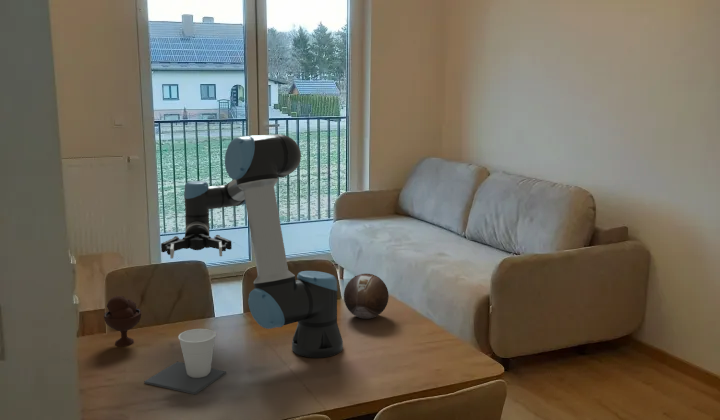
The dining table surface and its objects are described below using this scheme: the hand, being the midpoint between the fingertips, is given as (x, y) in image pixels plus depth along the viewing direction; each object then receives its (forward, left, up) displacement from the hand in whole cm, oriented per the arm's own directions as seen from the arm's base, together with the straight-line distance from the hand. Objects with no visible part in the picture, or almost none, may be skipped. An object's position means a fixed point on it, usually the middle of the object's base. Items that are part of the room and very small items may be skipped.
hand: (196, 252), depth 198 cm
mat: (-7, +16, -30) cm, 35 cm away
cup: (-9, +14, -30) cm, 34 cm away
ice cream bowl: (+25, +3, -30) cm, 39 cm away
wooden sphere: (-33, -48, -30) cm, 65 cm away
